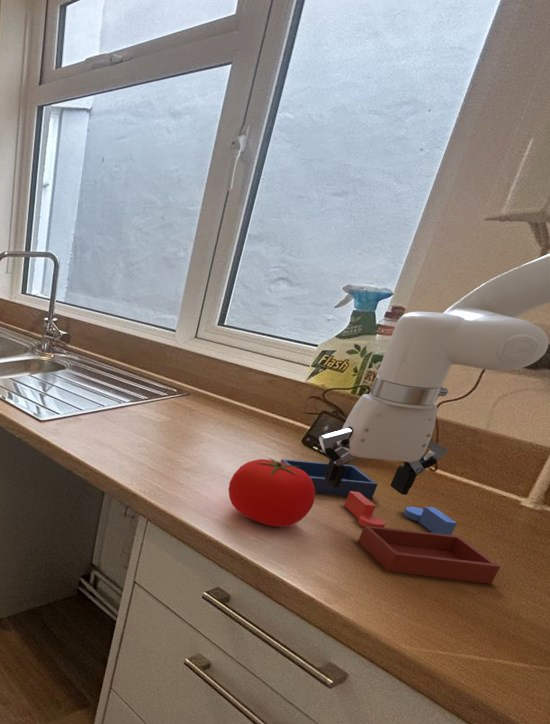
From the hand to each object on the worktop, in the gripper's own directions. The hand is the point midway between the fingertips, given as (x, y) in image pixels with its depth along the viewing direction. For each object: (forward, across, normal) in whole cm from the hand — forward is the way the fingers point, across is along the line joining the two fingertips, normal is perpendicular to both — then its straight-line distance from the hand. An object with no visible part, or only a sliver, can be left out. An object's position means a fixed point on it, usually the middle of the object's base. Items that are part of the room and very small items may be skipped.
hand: (364, 487), depth 89 cm
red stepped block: (+5, 0, +2) cm, 5 cm away
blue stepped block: (+5, -10, +2) cm, 11 cm away
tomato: (+6, +16, +6) cm, 18 cm away
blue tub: (+5, 0, -10) cm, 12 cm away
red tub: (+5, -2, +14) cm, 15 cm away
